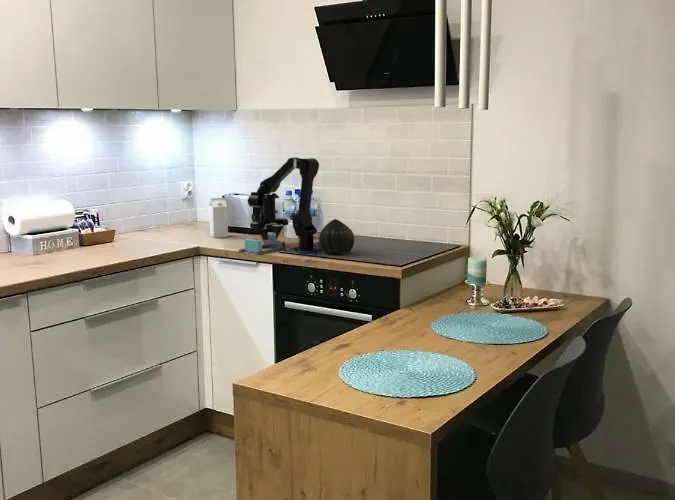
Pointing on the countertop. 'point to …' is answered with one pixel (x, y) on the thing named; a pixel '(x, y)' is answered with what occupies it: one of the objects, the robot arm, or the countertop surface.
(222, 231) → the milk carton
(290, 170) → the robot arm
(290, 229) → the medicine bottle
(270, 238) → the jar
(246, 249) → the teal foam pad
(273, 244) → the gray u-shaped archway
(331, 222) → the squash
